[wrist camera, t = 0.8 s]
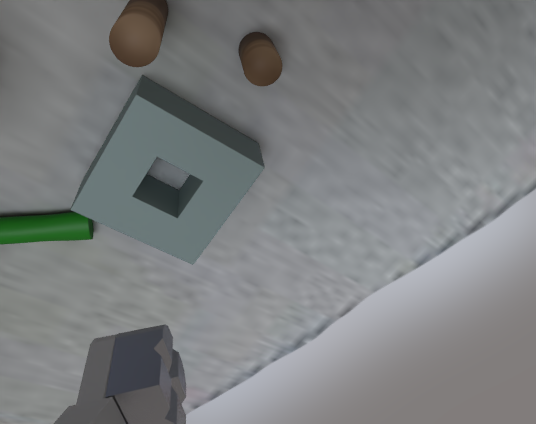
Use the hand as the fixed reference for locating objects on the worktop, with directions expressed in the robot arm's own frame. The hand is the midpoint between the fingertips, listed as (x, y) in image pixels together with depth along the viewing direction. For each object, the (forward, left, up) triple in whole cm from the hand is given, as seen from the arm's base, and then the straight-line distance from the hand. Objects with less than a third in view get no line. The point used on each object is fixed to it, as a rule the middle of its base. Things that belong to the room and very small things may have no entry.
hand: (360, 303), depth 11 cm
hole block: (+15, +2, -36) cm, 39 cm away
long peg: (+4, -6, -36) cm, 36 cm away
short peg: (+2, +3, -36) cm, 36 cm away
